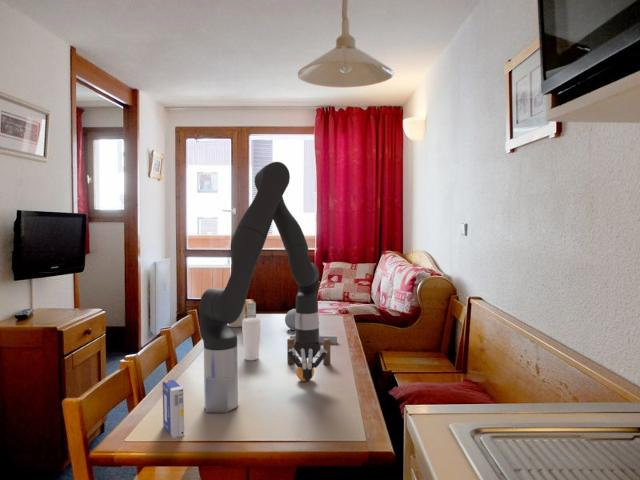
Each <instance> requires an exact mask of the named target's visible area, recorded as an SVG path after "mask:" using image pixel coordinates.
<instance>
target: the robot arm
mask: <svg viewBox="0 0 640 480" xmlns="http://www.w3.org/2000/svg"><path fill="white" fill-rule="evenodd" d="M290 180H291V176H290V171H289V169H288V167H287V166H286V164H284V163H283V162H281V161H272V162H269V163H267V164H266V165H264V166H263V167H262V168H261V169H260V170H259V171H257V173H256V174H255V176H254V186H255V188H256V190H257V191H256V194H255V197H254V198H253V200H252V202H251V203H250V205H249V206H248V207H247V209H246V211H245V212H244V214H243V215H242V217H241V218H240V221H239V223H238V224H237V226H236V229H235V231H234V233H233V236H232V239H231V241H230V258H231V259H230V260H231V272H230V276H229V278H228V281H227V284H226V286H225V288H218V287H211V288H208V289H206V290H205V291H204V292H203V293H202V295H201V296H200V300H199V305H198V312H199V313H198V314H199V315H198V316H199V331H200V332H199V333H200V337H201V339H202V341H203V378H204V379H203V380H204V381H203V385H204V387H203V388H204V390H203V391H204V392H203V393H204V409H205V412H206V413H217V414H218V413H220V414H222V413H223V414H228V413H229V412H230V411H233V410H234V409H236V408H237V407H238V406H239V385H238V383H239V379H238V378H239V377H238V376H239V375H238V374H239V371H238V369H239V368H238V364H239V363H238V362H239V361H238V360H239V359H238V336H237V334H236V333H235V332H234V331H233V330H232V329H231V327H230V326H228V324H231V323H233V322H235V321H236V320H237V319H238V318H239V316H240V315H241V313H242V310H243V307H244V304H245V300H247V296H248V292H249V289H250V285H251V281H252V278H253V275H254V272H255V269H256V267H257V264H258V261H259V258H260V255H261V253H262V251H263V248H264V245H265V243H266V241H267V237H268V234H269V232H270V229H271V226H272V223H273V222H274V224H275V227H276V228H277V231H278V234H279V236H280V239H281V242H282V243H283V248H284V249H285V252H286V254H287V257H288V262H289V268H290V271H291V275H292V278H293V280H294V281H295V283H296V284H297V285H298V286H297V294H296V297H295V309H296V316H295V330H294V332H295V333H294V335H295V343H294V348H292V349H290V350H289V351H288V355H289V356H290V358H291V359H292V360H293V362H294V363H295V364H294V365H295V366H296V368H297V367H301V368H302V369H303V378H304V379H305V381H304V382H308V381H309V382H310V381H311V380H312V378H313V377H312V368H314V369H315V368H318V366H319V365H320V363H322V362H323V359H324V357H325V356H326V355H327V351H326V350H324V349H322V348H321V346H322V345H321V343H319V335H320V316H319V300H318V296H319V285H320V284H319V283H320V271H319V267H318V266H317V265H316V264H315V263H313V262H311V258H310V255H309V245H308V243H307V239H306V237H305V235H304V232H303V230H302V228H301V226H300V224H299V222H298V221H297V219H296V218H295V217H294V215H292V213H291V211H290V210H289V209H288V207H287V205H286V203H285V200H284V197H283V195H284V193H285V191H286V189H287V188H288V186H289V183H290ZM295 350H296V351H295ZM318 351H320V353H319V355H320V356H319V357H317V359H316V360H315V361H314V358H316V357H315V356H316V354H317V353H318ZM296 352H297V353H298V354H299V356H300V357H297V356H296ZM300 358H301V359H300ZM307 362H308V367H307Z"/></svg>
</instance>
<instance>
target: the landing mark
mask: <svg viewBox="0 0 640 480" xmlns="http://www.w3.org/2000/svg"><path fill="white" fill-rule="evenodd" d="M321 348H322V349H323V345H321ZM295 351H296V350H295ZM319 353H320V351H318V353H317V354H316V356H315V357H314V358H318V357H319V356H320V355H319ZM296 356H297V357H298V358H301V357H300V356H299V354H298V353H297V352H296Z"/></svg>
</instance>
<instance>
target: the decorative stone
mask: <svg viewBox="0 0 640 480" xmlns="http://www.w3.org/2000/svg"><path fill="white" fill-rule="evenodd" d="M295 316H296V308H292V309H290V310H288V311H287V313H286V314H285V317H284V322H285V325H286V327H288V329H290V330H291V331H295Z"/></svg>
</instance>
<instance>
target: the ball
mask: <svg viewBox="0 0 640 480" xmlns="http://www.w3.org/2000/svg"><path fill="white" fill-rule="evenodd" d="M307 367H308V361H307ZM314 375H315V368H312V378H313V377H314ZM295 376H297V378H298V380H300V381H302V382H306V381H305V379H304V378H303V369H302V368H301V367H297V366H296V369H295Z"/></svg>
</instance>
